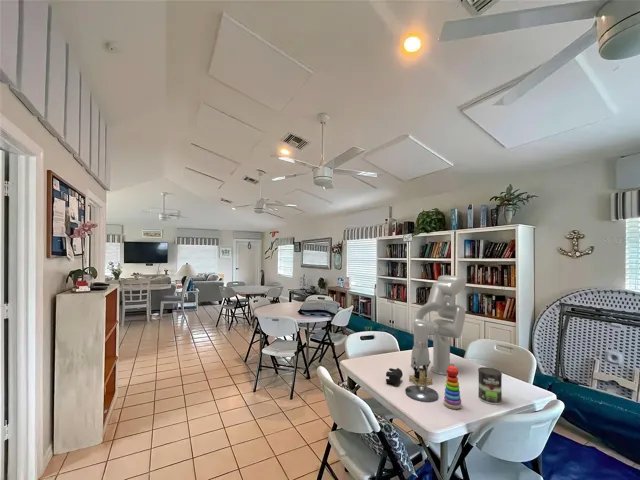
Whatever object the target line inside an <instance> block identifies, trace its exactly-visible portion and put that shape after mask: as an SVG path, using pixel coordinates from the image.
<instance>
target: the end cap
mask: <svg viewBox="0 0 640 480" xmlns="http://www.w3.org/2000/svg"><path fill="white" fill-rule="evenodd" d="M403 374H404V373H403V371H402V369H401V368H399V367H397V368H391V367H390V368H389V369H388V371H386V373H385V377H387V378H385V381H386V385H387V386H393V387H394V386H397V385H398V384H399V383H400V381H401V379H402V377H403Z"/></svg>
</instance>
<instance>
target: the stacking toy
mask: <svg viewBox="0 0 640 480" xmlns="http://www.w3.org/2000/svg"><path fill="white" fill-rule="evenodd" d="M458 369H459V368H457V367H456V365H455V366H448V367H447V374H448V375H446V381H445V382H446V384H445V388H444V392H443V393H444V399H443V404H444V406H445V407H447V408H449V409H451V410H460V409H461V408H462V405H463V404H462V399H461V392H460V383H459V378H458V375H459V370H458Z"/></svg>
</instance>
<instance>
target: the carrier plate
mask: <svg viewBox="0 0 640 480" xmlns="http://www.w3.org/2000/svg"><path fill="white" fill-rule="evenodd" d="M404 390H405V392H404V393H405V395H406V397H408V398H410V399H412V400H414V401H418V402H421V403H433V402H436V401H438V399H439V393H438V392H437V391H436V390H435V389H433V388H431V387H429V386H423V385H415V384H413V385H409V386H407V387H405V389H404Z"/></svg>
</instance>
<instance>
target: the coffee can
mask: <svg viewBox="0 0 640 480" xmlns="http://www.w3.org/2000/svg"><path fill="white" fill-rule="evenodd" d="M477 370H478V371H477V372H478V396H477V397H478V399H479V400H480V401H482V402H483V403H485V404H489V405H493V406H494V405H497V406H498V405H501V404H502V403H503V401H502V398H503V397H502V396H503V395H502V393H503V392H502V389H503V388H502V385H503V383H502V382H503V381H502V380H503V379H502V377H503V376H502V375H503V373H502V372H501V371H500V370H498V369H496V368H492V367H484V366H481V367H478V369H477Z"/></svg>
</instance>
